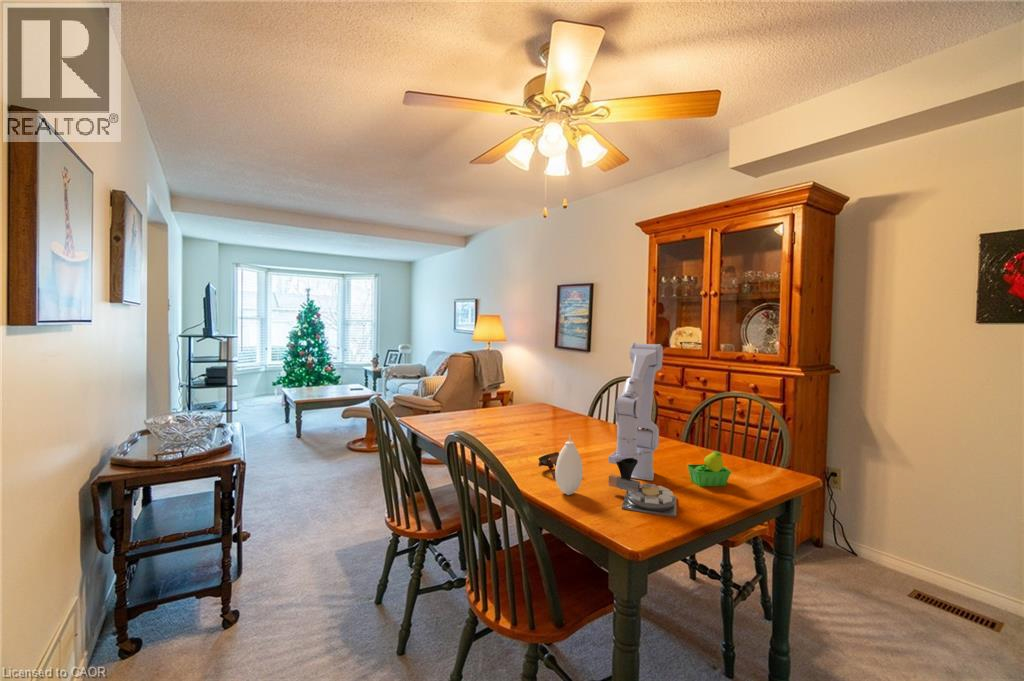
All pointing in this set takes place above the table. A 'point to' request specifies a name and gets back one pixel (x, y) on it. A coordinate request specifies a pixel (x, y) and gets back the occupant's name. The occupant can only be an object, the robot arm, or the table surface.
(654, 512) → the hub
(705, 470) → the fruit basket
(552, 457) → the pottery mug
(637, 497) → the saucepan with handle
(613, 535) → the table surface
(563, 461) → the air blower bulb
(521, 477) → the table surface
